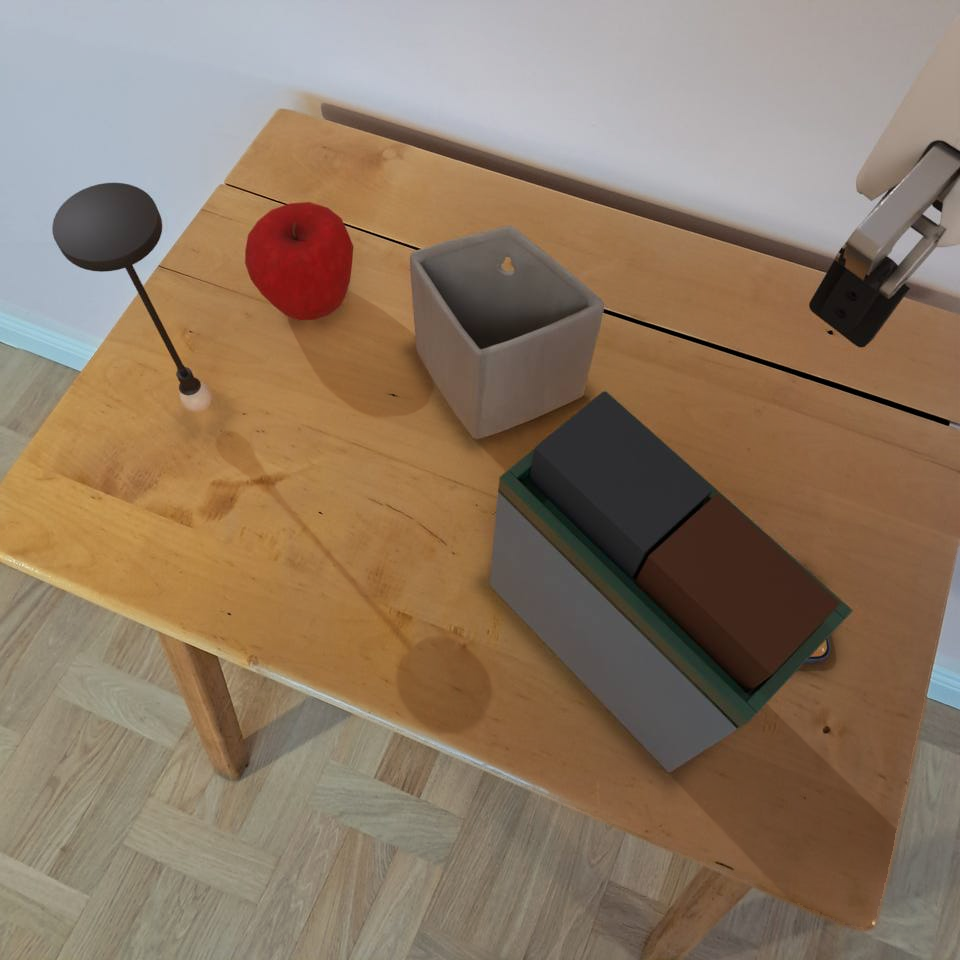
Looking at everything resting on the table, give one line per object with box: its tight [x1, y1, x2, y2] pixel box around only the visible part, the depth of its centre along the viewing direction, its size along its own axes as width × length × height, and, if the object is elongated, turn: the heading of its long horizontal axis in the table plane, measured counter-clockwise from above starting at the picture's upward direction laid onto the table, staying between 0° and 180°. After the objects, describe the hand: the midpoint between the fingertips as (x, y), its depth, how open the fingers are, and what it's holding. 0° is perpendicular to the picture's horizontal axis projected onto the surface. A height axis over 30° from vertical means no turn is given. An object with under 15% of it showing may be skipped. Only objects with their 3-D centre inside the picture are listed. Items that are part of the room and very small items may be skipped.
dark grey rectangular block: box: [529, 391, 713, 578], centre depth 53 cm, size 6×9×4 cm, turn 42°
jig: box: [497, 390, 853, 730], centre depth 53 cm, size 20×10×2 cm, turn 42°
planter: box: [409, 225, 605, 440], centre depth 71 cm, size 16×8×19 cm, turn 73°
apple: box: [244, 201, 354, 321], centre depth 80 cm, size 10×10×11 cm
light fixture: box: [51, 182, 213, 413], centre depth 67 cm, size 7×7×25 cm
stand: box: [488, 491, 738, 774], centre depth 62 cm, size 20×10×18 cm, turn 42°
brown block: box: [635, 493, 840, 693], centre depth 50 cm, size 6×9×4 cm, turn 42°
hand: (900, 270), depth 41 cm, fingers open, 9 cm apart
